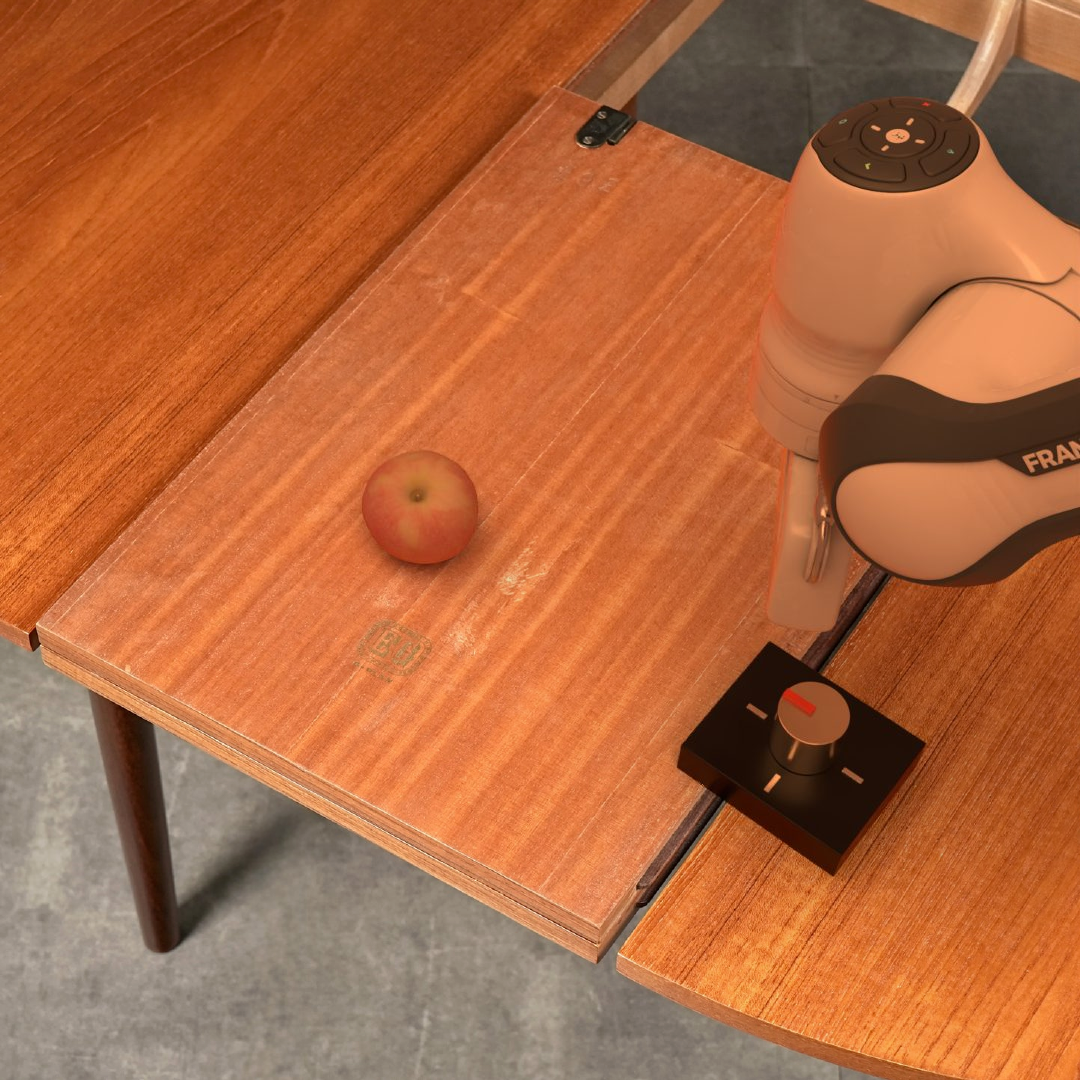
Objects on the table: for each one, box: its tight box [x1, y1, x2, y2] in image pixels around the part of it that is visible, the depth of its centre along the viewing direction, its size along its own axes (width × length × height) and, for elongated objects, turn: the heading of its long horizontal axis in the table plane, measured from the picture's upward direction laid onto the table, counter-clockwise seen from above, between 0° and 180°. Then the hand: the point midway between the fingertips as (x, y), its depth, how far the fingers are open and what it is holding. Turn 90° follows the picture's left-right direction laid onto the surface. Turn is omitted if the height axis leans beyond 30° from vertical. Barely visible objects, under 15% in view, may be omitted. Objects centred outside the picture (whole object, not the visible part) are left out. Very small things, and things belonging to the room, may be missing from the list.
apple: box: [361, 449, 479, 565], centre depth 115 cm, size 8×8×8 cm
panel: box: [676, 640, 927, 877], centre depth 108 cm, size 12×10×3 cm
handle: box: [769, 682, 850, 775], centre depth 105 cm, size 4×4×4 cm
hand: (799, 534), depth 97 cm, fingers open, 8 cm apart
